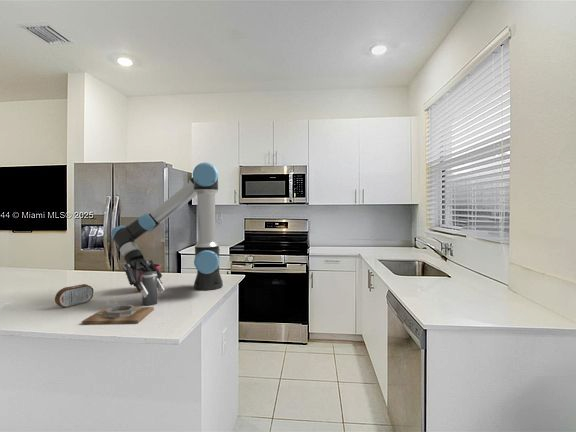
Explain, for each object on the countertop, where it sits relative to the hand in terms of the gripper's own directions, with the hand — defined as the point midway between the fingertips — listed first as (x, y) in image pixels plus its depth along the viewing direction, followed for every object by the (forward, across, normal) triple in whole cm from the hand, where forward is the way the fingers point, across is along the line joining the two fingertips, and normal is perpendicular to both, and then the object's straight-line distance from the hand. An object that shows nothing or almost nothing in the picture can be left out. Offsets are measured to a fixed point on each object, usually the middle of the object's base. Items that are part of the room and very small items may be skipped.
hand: (154, 293), depth 141 cm
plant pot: (-15, -15, -22) cm, 31 cm away
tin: (-17, +18, -25) cm, 35 cm away
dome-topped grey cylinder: (+1, 0, -6) cm, 6 cm away
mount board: (+5, +17, -2) cm, 18 cm away
